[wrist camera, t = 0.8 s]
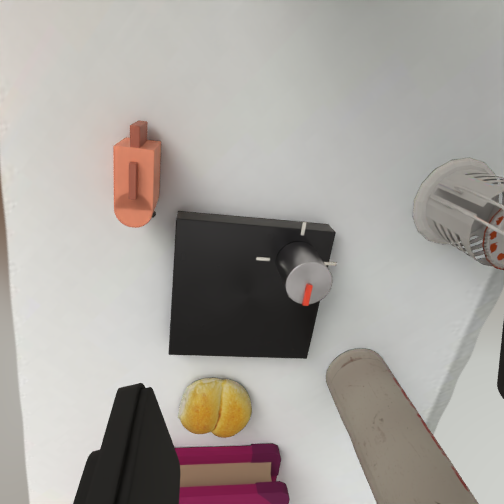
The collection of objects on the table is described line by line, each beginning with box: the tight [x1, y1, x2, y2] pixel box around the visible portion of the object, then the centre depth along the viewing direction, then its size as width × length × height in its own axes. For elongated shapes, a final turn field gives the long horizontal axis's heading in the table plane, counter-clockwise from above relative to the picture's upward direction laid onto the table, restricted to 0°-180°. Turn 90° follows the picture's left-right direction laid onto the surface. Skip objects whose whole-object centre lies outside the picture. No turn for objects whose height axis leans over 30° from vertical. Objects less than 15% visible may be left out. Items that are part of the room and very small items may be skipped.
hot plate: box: [169, 211, 337, 359], centre depth 42 cm, size 17×17×3 cm
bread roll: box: [178, 378, 252, 438], centre depth 47 cm, size 8×9×4 cm
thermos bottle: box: [326, 349, 478, 504], centre depth 37 cm, size 8×8×28 cm
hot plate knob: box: [276, 242, 332, 306], centre depth 37 cm, size 4×4×5 cm
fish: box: [113, 121, 161, 228], centre depth 34 cm, size 8×3×6 cm, turn 173°
